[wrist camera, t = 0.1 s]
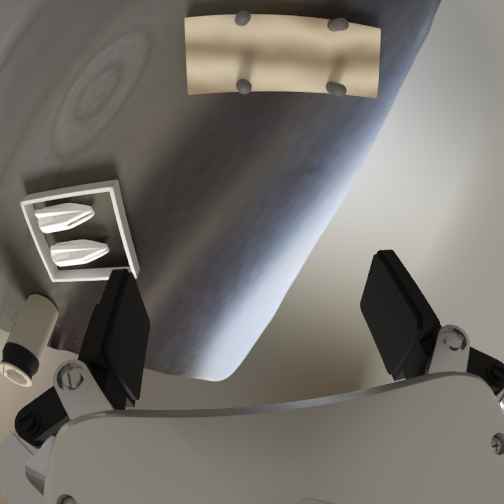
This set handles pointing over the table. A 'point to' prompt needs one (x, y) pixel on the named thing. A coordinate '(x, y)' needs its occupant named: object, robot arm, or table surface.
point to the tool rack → (281, 54)
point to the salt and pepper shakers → (66, 219)
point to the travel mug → (28, 340)
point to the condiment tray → (43, 246)
